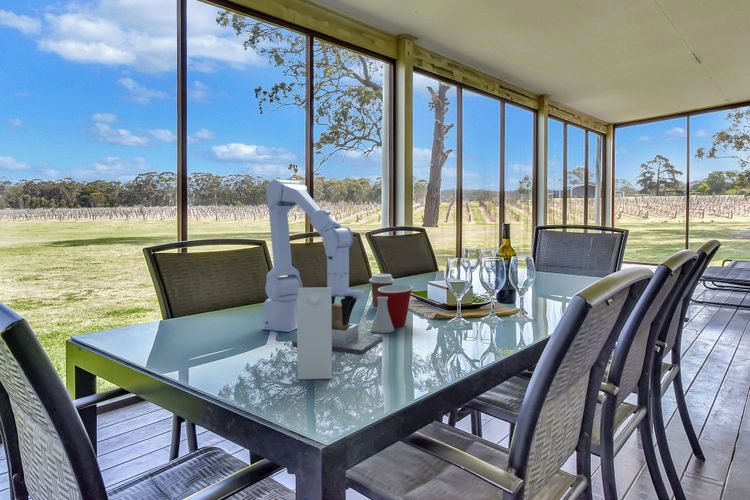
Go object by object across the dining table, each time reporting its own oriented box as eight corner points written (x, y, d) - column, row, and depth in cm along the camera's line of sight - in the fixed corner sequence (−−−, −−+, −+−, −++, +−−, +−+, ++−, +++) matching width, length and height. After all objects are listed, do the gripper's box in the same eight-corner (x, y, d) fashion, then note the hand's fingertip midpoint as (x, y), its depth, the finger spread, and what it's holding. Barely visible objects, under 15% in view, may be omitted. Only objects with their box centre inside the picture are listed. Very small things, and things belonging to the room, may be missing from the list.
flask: (392, 334, 144) (392, 300, 143) (367, 333, 145) (367, 299, 144) (396, 328, 151) (396, 295, 150) (372, 327, 152) (372, 294, 151)
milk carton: (299, 369, 112) (298, 285, 111) (331, 368, 113) (331, 284, 111) (297, 380, 105) (296, 290, 103) (331, 379, 106) (331, 290, 104)
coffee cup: (370, 305, 187) (370, 273, 186) (394, 305, 186) (395, 273, 185) (367, 309, 178) (367, 276, 177) (393, 310, 177) (393, 276, 176)
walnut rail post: (327, 335, 133) (327, 305, 133) (334, 332, 137) (334, 302, 136) (341, 336, 132) (341, 306, 131) (347, 333, 135) (348, 304, 135)
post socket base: (292, 345, 132) (292, 328, 132) (318, 333, 145) (318, 317, 144) (361, 353, 124) (361, 335, 124) (382, 340, 137) (382, 324, 137)
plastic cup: (372, 323, 158) (372, 285, 157) (402, 320, 162) (403, 283, 161) (386, 330, 148) (386, 290, 147) (418, 327, 152) (419, 288, 151)
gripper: (306, 273, 132) (306, 324, 133) (356, 276, 127) (356, 329, 128) (319, 270, 139) (319, 318, 140) (367, 273, 133) (367, 323, 134)
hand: (338, 323), depth 134 cm, fingers closed on walnut rail post, 4 cm apart
